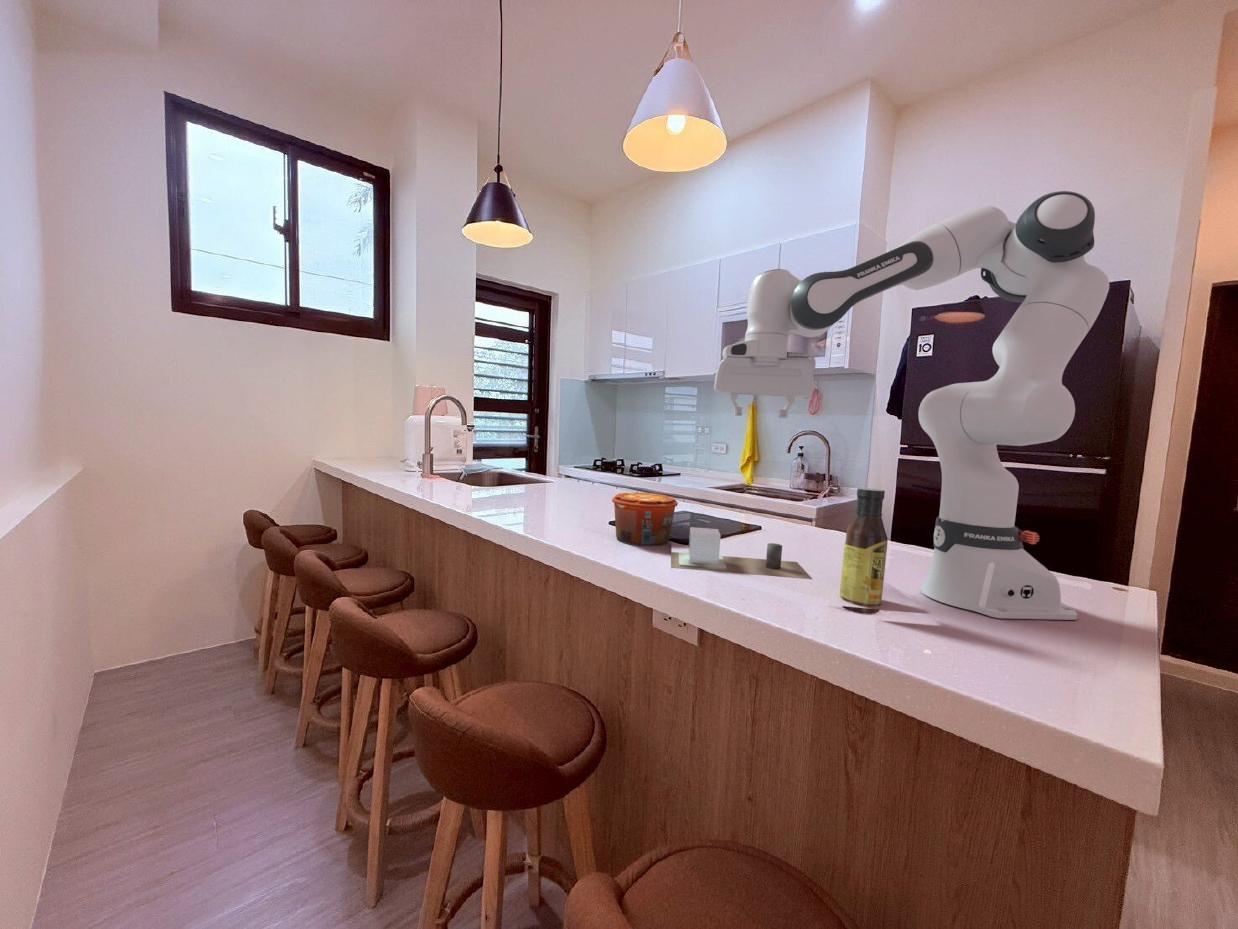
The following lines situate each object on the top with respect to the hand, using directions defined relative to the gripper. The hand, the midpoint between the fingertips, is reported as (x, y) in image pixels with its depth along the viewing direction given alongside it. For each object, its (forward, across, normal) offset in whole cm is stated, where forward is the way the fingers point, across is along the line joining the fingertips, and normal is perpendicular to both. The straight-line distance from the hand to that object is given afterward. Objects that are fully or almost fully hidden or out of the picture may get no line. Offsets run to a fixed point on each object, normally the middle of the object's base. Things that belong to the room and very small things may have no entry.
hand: (760, 416), depth 110 cm
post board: (+31, +4, +10) cm, 33 cm away
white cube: (+29, +11, +10) cm, 33 cm away
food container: (+31, +24, -12) cm, 41 cm away
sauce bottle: (+31, -14, +26) cm, 43 cm away
